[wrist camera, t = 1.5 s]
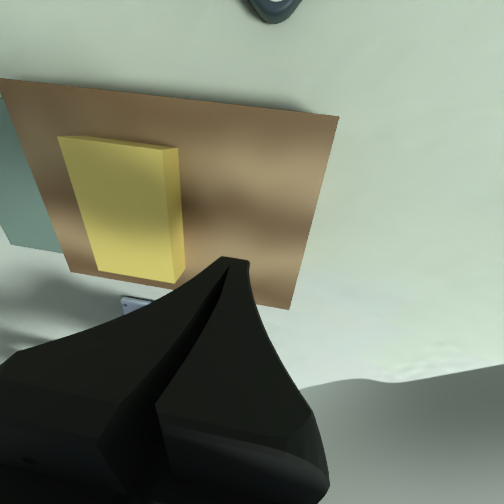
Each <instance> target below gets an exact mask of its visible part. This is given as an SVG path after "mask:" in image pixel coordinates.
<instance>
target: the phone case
mask: <svg viewBox="0 0 504 504" xmlns="http://www.w3.org/2000/svg"><path fill="white" fill-rule="evenodd" d="M249 1H250V3H251V4H252V5H253V7H254V8H255V9H256V11H257V12H258V14H259V15H260V16H261V17H262V18H263V19H264V20H265V21H267V22H269V23H272V24H277V23H281V22H283V21H285V20H286V19H287V18H289V17H290V15H291V14H292V13H293V12H294V10H295V9H296V8H297V6H298V5H299V4H300V2H301V1H302V0H249Z"/></svg>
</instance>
